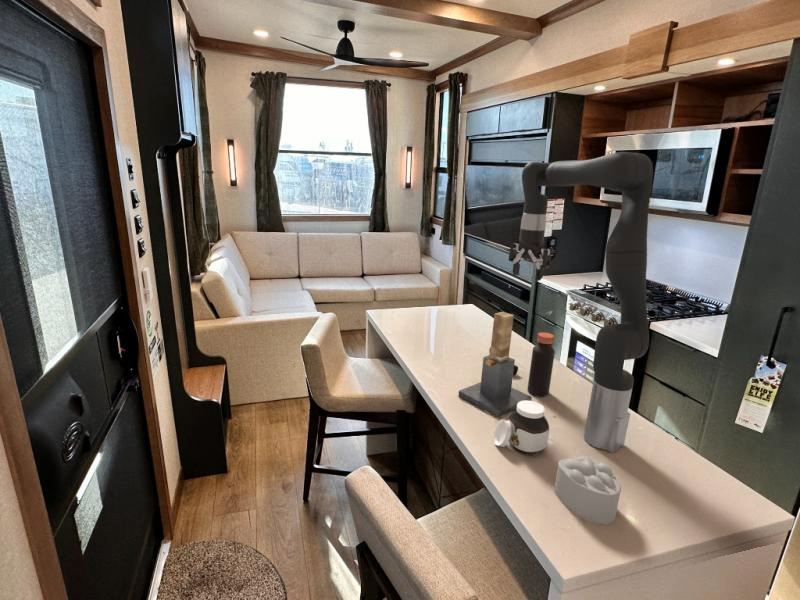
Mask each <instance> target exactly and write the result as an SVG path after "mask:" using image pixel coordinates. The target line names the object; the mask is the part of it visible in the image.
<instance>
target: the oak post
mask: <svg viewBox="0 0 800 600" xmlns="http://www.w3.org/2000/svg"><path fill="white" fill-rule="evenodd" d="M514 316H515V315H514V314H512V313H508V312H505V311H499V312H497V313H494V315H493V323H492V324H493V325H492V332H491V342H490V343H491V344H490V347H491V351H489V355H490V359H493V360H495V361H497V362H500V363H501V362H504V361H507V360H508V359H509V357H510V349H511V340H512V334H513V324H514Z"/></svg>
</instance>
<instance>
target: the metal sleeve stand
mask: <svg viewBox="0 0 800 600" xmlns="http://www.w3.org/2000/svg"><path fill="white" fill-rule="evenodd" d="M515 362H516V361H515V358H512V357H510V356H509V359H508V360H507V361H504V362H501V363H500V362H497V361H495V360H493V359H490V354H489V355H486V356H485V355H484V356H483V358H482V369H481V377H480V379H481V380H480V382H478V383H476V384H473V385H470V386H468V387H465V388H462V389H460V390H459V391H458V395H457V396H458V397H459V398H460V399H463V400H464V401H466V402H468V403H470V404H472V405H473V406H475V407H477V408H479V409H480V410H483V411H484V412H486V413H488V414H490V415H491V416H493V417H496V418H497V419H500V418H502V417H504V416H506V415H508V414H511V413H512V412H513V411H515V410H516V409H517V404H518V402H520V401H525V400H528V401H532V399H533V397H532V396H531V395H529V394H527V393H524V392H522V391H520V390H518V389H516V388H514V387H512V385H513V378H514V375H513V370H514V365H515Z"/></svg>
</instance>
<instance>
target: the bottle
mask: <svg viewBox="0 0 800 600" xmlns="http://www.w3.org/2000/svg"><path fill="white" fill-rule="evenodd" d="M554 338H555V335H554V334H552V333H549V332H543V331H542V332H538V333H537V340H536V343H537V344H536V345H534V347H533V348H532V353H531V359H530V369H529V376H528V382H527V383H528V384H527V392H528V393H529V394H531V395H532V396H535V397H540V396H541V397H542V398H543V397H546V396H548V395H549V393H550V386H551V382H552V381H551V380H552V374H553V368H554V367H553V366H554V359H555V353H556V351H555V349H554V348H553V347H552V345H553V343H554Z"/></svg>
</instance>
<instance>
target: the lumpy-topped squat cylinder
mask: <svg viewBox="0 0 800 600" xmlns="http://www.w3.org/2000/svg"><path fill="white" fill-rule="evenodd" d="M555 477H556V478H555V484H554V489H553V491H554V494H555V496H556V497H557V499H559V501H560V503H562V505H563V506H565V507H566V508H567V509H568V510H569V511H570V512H571V513H573V514H574V515H576V516H577V517H579V518H581V519H583V520H585V521H587V522H590V523H593V524H597V525H604V526H607V525H612V524H613V523H614V522H615V519H616V516H617V511H618V506H619V501H620V496H621V491H622V490H621V489H622V486H621V482H620V481H619V479H618V477H617V476H616V475H615V473H613V471H612V467H610V466H609V465H608V464H606V463H604V462H600V461H598V460H597V459H595V458H593V457H591V456H588V455H587V456H586V455H577V456H574V457H571V458H563V459H560V460H559V461H558V466H557V470H556V476H555Z"/></svg>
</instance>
